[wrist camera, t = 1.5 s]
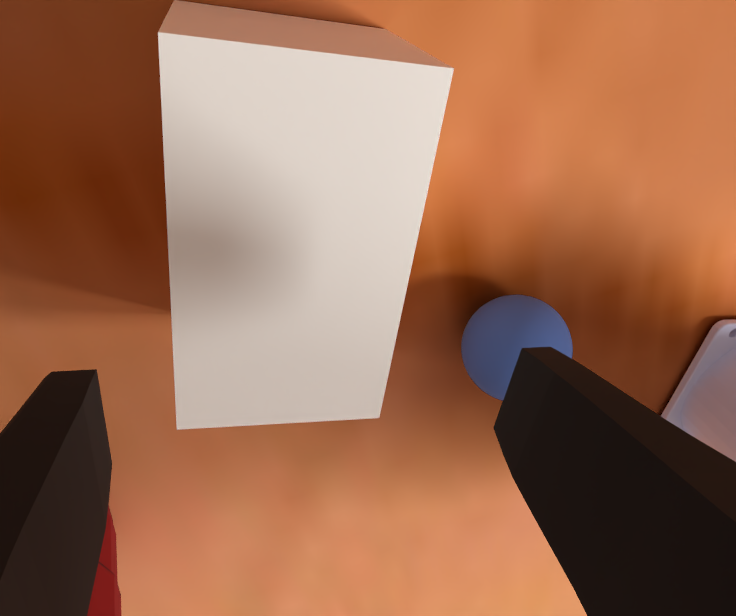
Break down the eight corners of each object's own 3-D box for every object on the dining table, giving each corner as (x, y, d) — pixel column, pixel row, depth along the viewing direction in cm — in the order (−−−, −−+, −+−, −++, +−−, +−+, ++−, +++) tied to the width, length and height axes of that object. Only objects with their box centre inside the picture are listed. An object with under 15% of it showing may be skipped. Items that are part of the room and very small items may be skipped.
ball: (553, 275, 22) (612, 335, 19) (523, 356, 24) (571, 422, 21) (459, 274, 21) (505, 337, 18) (436, 358, 23) (474, 429, 20)
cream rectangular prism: (385, 28, 16) (453, 68, 11) (343, 314, 21) (379, 418, 16) (174, -1, 14) (157, 32, 10) (184, 315, 19) (177, 429, 15)
